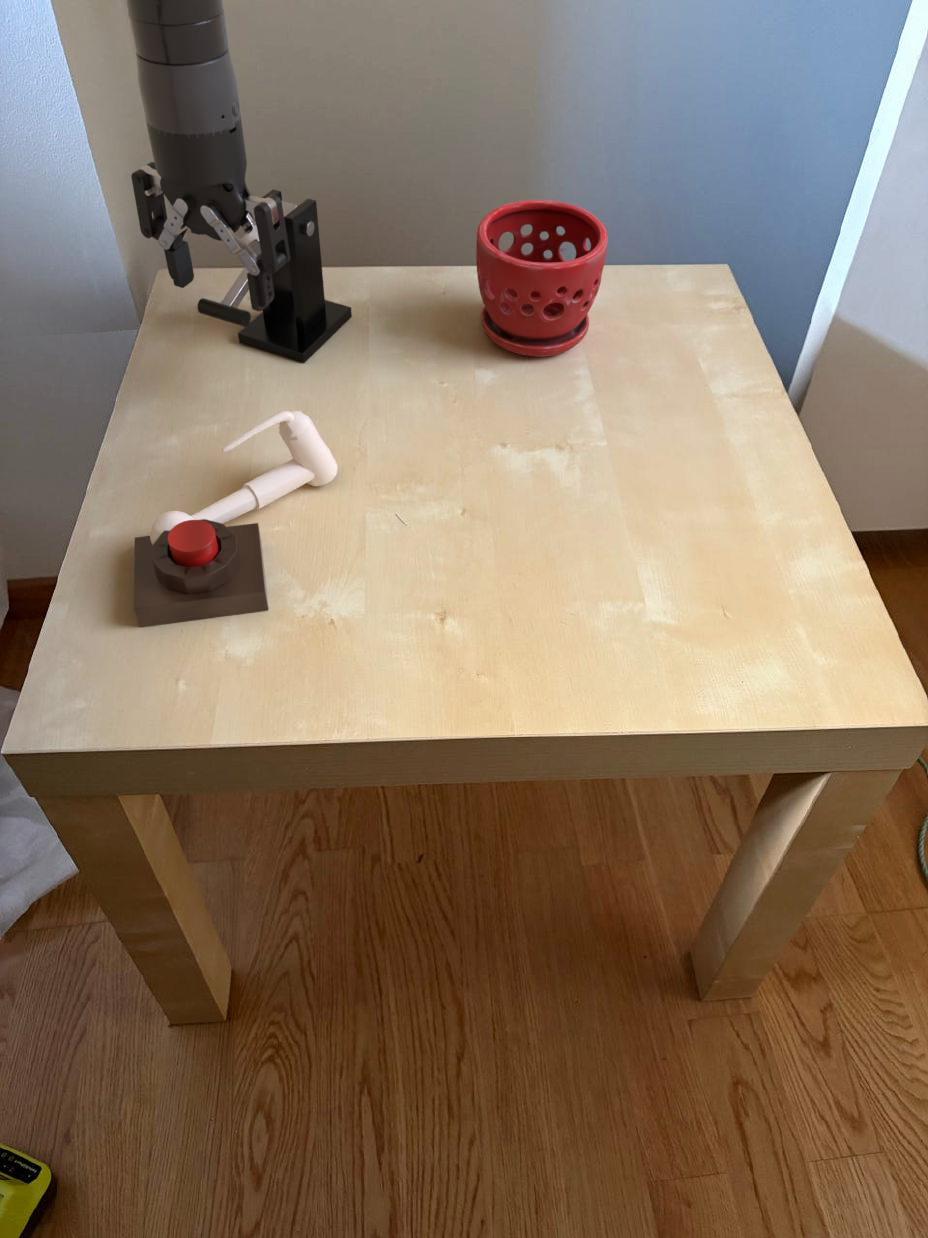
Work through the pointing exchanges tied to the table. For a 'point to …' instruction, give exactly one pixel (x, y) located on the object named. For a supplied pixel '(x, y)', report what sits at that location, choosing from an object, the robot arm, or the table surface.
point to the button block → (200, 578)
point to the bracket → (297, 295)
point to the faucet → (305, 467)
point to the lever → (234, 294)
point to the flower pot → (539, 276)
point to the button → (193, 543)
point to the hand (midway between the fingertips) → (223, 295)
